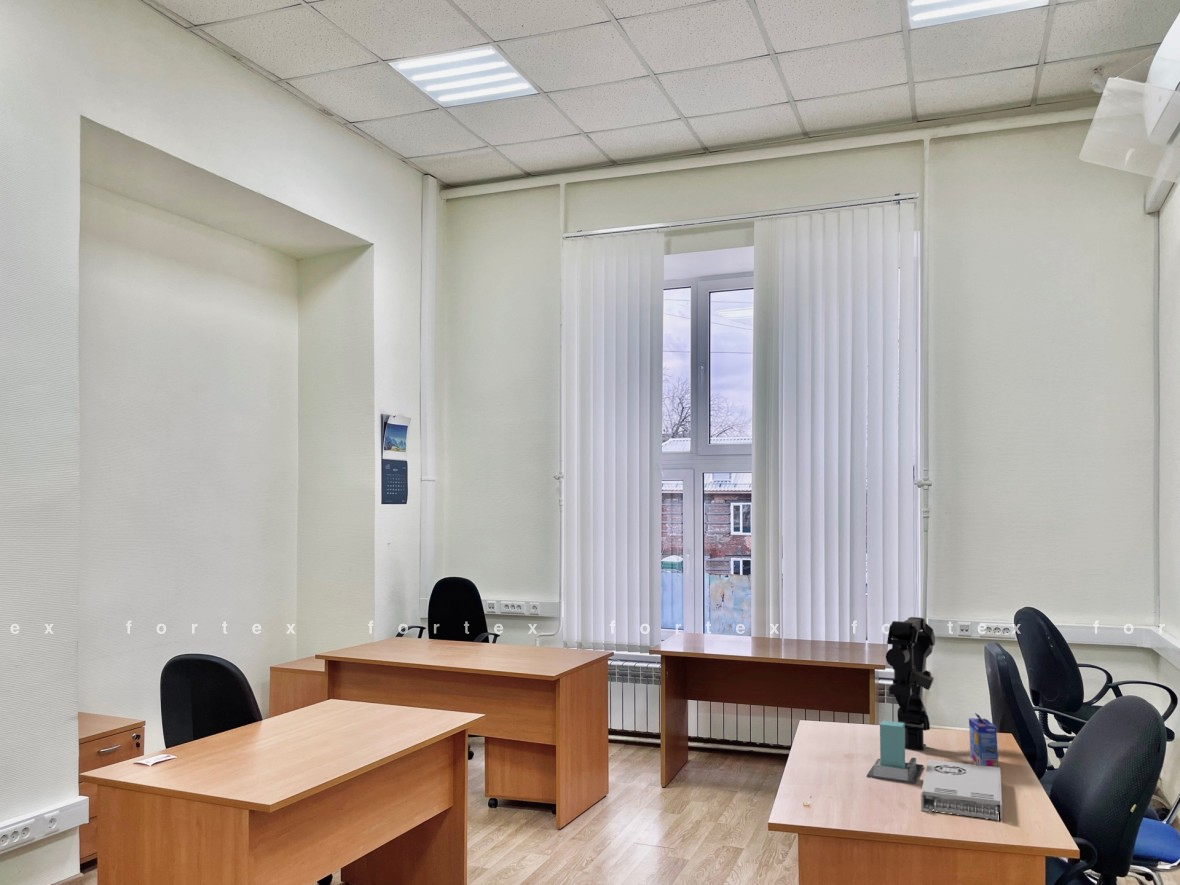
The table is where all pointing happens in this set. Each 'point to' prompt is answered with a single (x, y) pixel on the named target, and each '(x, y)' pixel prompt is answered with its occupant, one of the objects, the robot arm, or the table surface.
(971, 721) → the ink cartridge box
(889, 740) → the block
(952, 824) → the table surface
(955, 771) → the power supply unit
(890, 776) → the chute
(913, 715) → the robot arm
